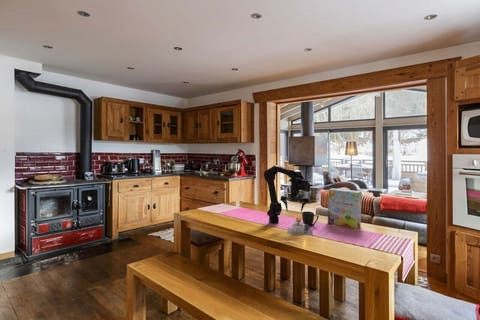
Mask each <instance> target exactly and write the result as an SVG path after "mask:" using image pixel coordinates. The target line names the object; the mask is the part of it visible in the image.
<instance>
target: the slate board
mask: <svg viewBox="0 0 480 320" xmlns="http://www.w3.org/2000/svg"><path fill="white" fill-rule="evenodd" d="M286 234H287V235H301V236H309V237H310V236H314V233H313V229H308V231H304V233H295V232H292V227H291V228H290V227H288V228H287V231H286Z"/></svg>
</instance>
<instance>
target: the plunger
mask: <svg viewBox="0 0 480 320" xmlns="http://www.w3.org/2000/svg"><path fill="white" fill-rule="evenodd" d="M295 222H298V224H299V222H300V223H302V218H301V217H296V218H295Z"/></svg>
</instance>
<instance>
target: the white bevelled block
mask: <svg viewBox="0 0 480 320" xmlns="http://www.w3.org/2000/svg"><path fill="white" fill-rule="evenodd" d="M291 228H292V232H295V233H304V231H308V230H309V226H308V225H305V224H303V222H299V224H298V222H296V221H293V223H292V226H291Z"/></svg>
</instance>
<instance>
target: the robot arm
mask: <svg viewBox="0 0 480 320" xmlns="http://www.w3.org/2000/svg"><path fill="white" fill-rule="evenodd" d="M279 173H281V174H283V175H286V176H287V177H288V178H290V179H289V180H288V182H290V195H289V196H287V195H281V196H280V200H279V201H280V202H279V201H278V195H277V190H276V186H275V185H276V184H275V180H276V175H277V174H279ZM263 178H264V180H265V182H266V183H267V186H268V187H267V188H268V192H269V193H268V194H269V199H270V204H269V209H268V210H267V212H266V216H268V224H273V225H274V224H279V222H280V218H279V217H280V215H281V213H282V211H283V206H282V203H283V204H284V206H285V209H286V212H288V201H290V202H295V203H298V202H301V206H300V213H302V212H303V209H304V207H305V205H307V204H309V203H310V198H309V197H308V196H307V197H306V196H303V197H302V194H301V193H300V191H305V192H309V191H310V189H311V184H310V182H309V180H308V179H307V180H306V179H305V178H304V176H303V174H302V172H301V170H299V169H289V168H287V167H283V166H280V165H276V164H275V165H273V166H271V167H270V168H268V169H267V170H265V171H264V172H263ZM281 202H282V203H281Z"/></svg>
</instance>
